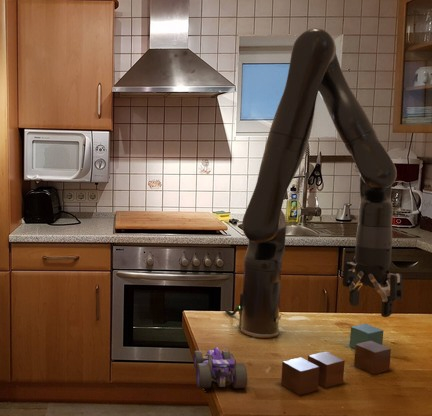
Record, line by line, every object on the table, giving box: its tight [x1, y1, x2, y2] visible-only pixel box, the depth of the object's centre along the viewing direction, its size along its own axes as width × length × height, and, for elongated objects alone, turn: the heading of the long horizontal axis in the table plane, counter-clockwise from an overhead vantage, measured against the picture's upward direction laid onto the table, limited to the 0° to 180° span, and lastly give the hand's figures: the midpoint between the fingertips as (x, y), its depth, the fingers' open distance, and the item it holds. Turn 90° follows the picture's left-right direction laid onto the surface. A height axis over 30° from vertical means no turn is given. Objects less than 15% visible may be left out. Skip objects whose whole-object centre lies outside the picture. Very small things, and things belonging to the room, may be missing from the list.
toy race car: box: [192, 347, 248, 389], centre depth 111 cm, size 10×15×6 cm, turn 1°
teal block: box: [349, 323, 384, 349], centre depth 125 cm, size 5×5×5 cm
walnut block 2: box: [307, 351, 345, 389], centre depth 109 cm, size 5×5×5 cm
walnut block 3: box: [353, 341, 392, 376], centre depth 115 cm, size 5×5×5 cm
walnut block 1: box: [280, 356, 319, 396], centre depth 106 cm, size 5×5×5 cm
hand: (369, 310), depth 124 cm, fingers open, 8 cm apart
